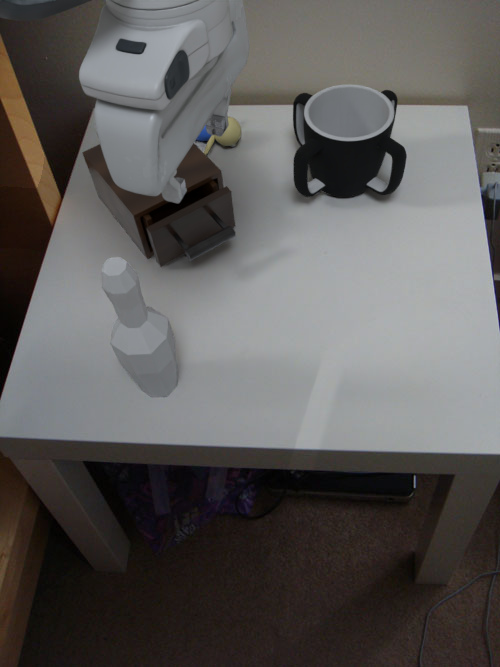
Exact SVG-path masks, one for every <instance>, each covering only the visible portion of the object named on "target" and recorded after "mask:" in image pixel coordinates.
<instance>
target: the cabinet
mask: <svg viewBox="0 0 500 667" xmlns="http://www.w3.org/2000/svg"><path fill="white" fill-rule="evenodd" d="M81 154H82V156H83V159H84V162H85V164H86V167H87V169H88V173H89V175H90V178H91V181H92V183H93V185H94V188H95V191H96V193H97V196H98V199H100V201H101V202H102V204H104V206H105V207H106V208H107V210H108V211H109V212H110V213H111V215H112V216H113V218H114V219H115V220H116V221H117V222H118V224H119V225H120V226H121V227H122V229H123V230H124V231H125V233H126V234H127V235H128V237H129V238H130V239H131V241H132V242H133V243H134V244H135V245H136V247H137V248H138V250H139V251H140V252H141V253H142V255H143V256H144V257H145V258H146V260H148V259H150V258H152V257H153V256H155V255H154V252H153V248H152V247H151V245H150V244H149V243H148V242H147V239H146V236H145V233H144V229H143V226H142V223H141V220H140V217H141V216H143V215H145V214H147V213H149V212H151V211H153V210H155V209H157V208H159V207H161V206H163V205H165V204H167V203H169V201H166V200H165V199H164V198H163V197H162V193H160V194H159V195H158V196H148V195H142V194H137V193H134V192H130V191H127V190H125V189H122V188H120V187H119V186H117V185H116V184H115V182H114V181H113V179H112V177H111V175H110V172H109V169H108V167H107V164H106V161H105V158H104V155H103V152H102V149H101V146H100V143H98V144H96V145H95V146H92V147H91V148H88V149H86V150H84V151H82V152H81ZM176 170H177V173H176V175H175V176H174V177H175V178H176V177H180V178H184V179H185V183H186V188H187V192H186V193H188V192H190V191H192V190H194V189H196V188H198V187H200V186H202V185H204V184H206V183H208V182H210V181H211V180H213V181H214V182H215V183H216V184H217V188H218V190H220V189H222V188H224V187H225V186H224V181H223V173H222V170H221V169H220V167H218V166H217V165H216V164H215V163H214V162H213V160H211V159H210V158H209V157H208V156H207V155H205V154H204V151H202V150H201V148H199V146H197V144H196V143H195V142H194V143H193V145H192V146H191V148H190V149H189V151H188V153H187V154H186V156H185V157H184V159H183V160H182V162H181V163H180V165H179V166H178V168H177V169H176ZM186 193H185V194H186Z"/></svg>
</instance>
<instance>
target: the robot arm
mask: <svg viewBox="0 0 500 667" xmlns="http://www.w3.org/2000/svg"><path fill="white" fill-rule="evenodd" d="M91 1H92V0H0V18H1V19H4V20H10V21H16V22H18V21H19V22H31V21H37V20H38V21H39V20H43V19H45V18H49V17H52V16H55V15H58V14H60V13H64V12H66V11H69V10H71V9H74V8H76V7H78V6H81V5H84V4H86V3H89V2H91ZM249 37H250V36H249V28H248V22H247V15H246V10H245V5H244V0H105V4H104V5H103V7H102V8H101V11H100V15H99V19H98V24H97V26H96V29H95V33H94V35H93V38H92V40H91V43H90V45H89V47H88V50H87V52H86V54H85V55H84V57H83V60H82V62H81V65H80V67H79V71H78V79H79V83H80V86H81V89H82V91H83V93H84V94H85V95H86V96H88V97H91V98H94V99H96V101H95V104H94V110H93V111H94V112H93V114H94V115H93V116H94V117H93V118H94V119H93V120H94V126H95V131H96V134H97V139H98V142H99V144H100V146H101V149H102V152H103V155H104V158H105V161H106V164H107V167H108V169H109V172H110V175H111V177H112V179H113V181H114V182H115V184H116V185H117V186H119V187H120V188H122V189H125V190H127V191H130V192H134V193H137V194H142V195H148V196H158V195H159V194H160V193H162V197H163V198H164V199H165V200H166V201H169V202H173V203H180V202H181V200H182V198H183V197H184V195H185V193H186V192H187V188H186V183H185V179H184V178H180V177H176V178H175V177H174V176H175V175H176V173H177V170H176V169H177V168H178V166H179V165H180V163H181V162H182V160H183V159H184V157H185V156H186V154H187V153H188V151H189V149H190V148H191V146H192V145H193V143H194V144H195V143H196V141H197V140H196V139H197V137H198V136H199V134H200V133H201V131H202V130H203V128H204V127H205V125H206V131H207V133H208V134H210V135H216V136H219V137H221V136H222V135H223V134H224V132H225V131H226V129H227V128H228V126H229V124H228V116H229V115H228V112H229V108H230V102H231V96H232V86H233V85H234V84H235V82H236V81H237V79H238V78H239V76H240V74H241V73H242V71H243V70H244V69H245V67H246V65H247V64H248V61H249V55H250V45H251V44H250V38H249Z"/></svg>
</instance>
